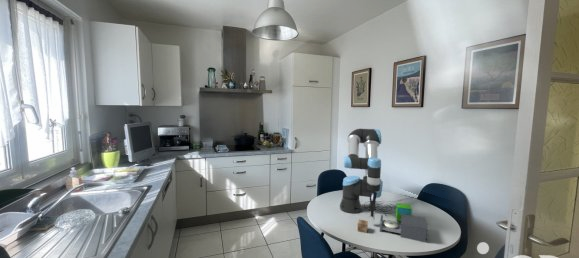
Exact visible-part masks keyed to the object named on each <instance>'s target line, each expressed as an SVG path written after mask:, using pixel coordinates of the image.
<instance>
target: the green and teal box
mask: <svg viewBox="0 0 579 258" xmlns="http://www.w3.org/2000/svg"><path fill="white" fill-rule="evenodd" d="M394 210H395V217H396V222H401V213H402V214H407V215H412V213H413V212H412V211H413V209H412V206H411V204H403V203H396V206H395V208H394Z"/></svg>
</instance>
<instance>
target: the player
mask: <svg viewBox="0 0 579 258" xmlns="http://www.w3.org/2000/svg"><path fill="white" fill-rule="evenodd" d="M400 223H401V234H400V238H404V239H407V240H413V241H417V242H421V243H426V244H427V243H428V237H429V227H428V222H427V219H426V217H425V216H418V215H407V214H402V213H401V221H400Z"/></svg>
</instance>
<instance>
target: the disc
mask: <svg viewBox="0 0 579 258" xmlns="http://www.w3.org/2000/svg"><path fill="white" fill-rule="evenodd" d="M384 220H385V221H384V223H383V225H384V226H385V227H386V228H390V229H397V228H398V224H397V223H396V222H397V221H394V220H388V219H387V220H386V219H384Z"/></svg>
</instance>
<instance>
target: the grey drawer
mask: <svg viewBox="0 0 579 258" xmlns="http://www.w3.org/2000/svg"><path fill="white" fill-rule="evenodd" d="M385 220H386V219H384V215H380V221H379V231H380V232H383V231H386V232H393V233H396V234H397V233H398V234H400V235H401V222H399V221H395V222H396V223H397V224H398V228H397V229H390V228H386V227H385V226H384V225H383V223H384V221H385Z"/></svg>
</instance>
